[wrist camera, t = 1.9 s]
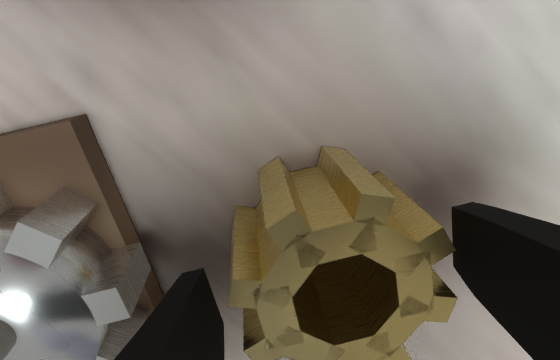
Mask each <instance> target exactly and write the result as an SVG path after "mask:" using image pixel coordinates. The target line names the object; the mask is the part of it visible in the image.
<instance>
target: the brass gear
mask: <svg viewBox="0 0 560 360" xmlns="http://www.w3.org/2000/svg"><path fill="white" fill-rule="evenodd" d="M258 173H259V180H260V188H261V196H262V199H261V201H260V202H259V204H258V205H257V207H256V208H249V207H240V206H235V213H234V219H233V226H232V243H231V262H230V280H229V298H228V307H237V308H243V334H244V352H245V353H246V354H247V355H248V356H249V357H250V358H251V359H252V360H278V359H279V358H281V357H283V356H284V357H287V358H289V359H292V360H411V358H410V356H409V354H408V352H407V350H406V349H405V347H404V345H403V343H404V342H405V341H406V340H407V338H408V337H409V336H410V335H411V334H412V333H413V332H414V331H415V330H416V328H417V327H418V326H419V325H420V324H421V323H422V322H423V321H433V322H447V321H448V319H449V317H450V314H451V312H452V310H453V307H454V305H455V303H456V300H457V297H456V296H455V294H454V293H453V292H452V291H451V290H450V289H449V288H448V286H447V285H446V284H445V283H444V282H443V281H442V279H441V278H440V277H439V276H438V275H437V274H436V273H435V271H434V270H433V269H432V267H431V265H433V264H434V263H436V262H438V261H439V260H441V259H443V258H444V257H446V256H448V255H449V254H451V253H452V252H454V251H456V249H455V248H454V246H453V244H452V242H451V241H450V239H449V237H448V236H447V234H446V232H445V230H444V229H443V227H442V226H441V225H440V224H439V223H437V222H436V221H435V220H434V219H433V218H432V217H431V216H430V215H428V214H427V213H426V212H425V211H424V210H423V209H422V208H421V207H419V206H418V205H417V204H416V203H415V202H414V201H413V200H412V199H410V198H409V197H408V196H407V195H406V194H405V193H404V192H403V191H401V190H400V189H399V188H398V187H397V186H396V185H395V184H394V183H392V182H391V181H390V180H389V179H388V178H387V177H386V176H385V175H383V174H382V173H381V172H380V171H379V172H377V173H376V174H374V175H373V176H372V175H371V174H370V173H369V172H368V171H367V170H366V169H365V168H364V167H363V166H362V165H361V164H360V163H359V162H358V161H357V160H356V159H355V158H354V157H353V156H352V155H351V154H350V153H349V152H348V151H346V150H345V149H339V148H333V147H326V146H322V149H321V153H320V157H319V162H318V166H314V167H310V168H306V169H302V170H297V171H293V172H289V171H288V169H287V168H286V167H285V165H284V164H283V163H282V161H281V160H280V159H279V157H277V158H275V159H274V160H272V161H271V162H270V163H268V164H267V165H265V166H264V167H262V168H261V169H260V170H258Z"/></svg>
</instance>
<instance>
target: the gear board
mask: <svg viewBox="0 0 560 360" xmlns="http://www.w3.org/2000/svg"><path fill="white" fill-rule="evenodd" d="M0 183H1V185H2V187H3V189H4V191H5V192H6V194H7V196H8V198H9V199H10V201H11V203H12V205H13V206H14V207H18V206H22V207H37V206H39V205H40V204H41V203H43V202H44V201H45V200H47V199H48V198H49V197H50V196H52V195H53V194H54V193H56V192H57V191H58V190H60V189H61V188H62V187H63V186H65V187H67V188H69V189H72V190H74V191H76V192H78V193H80V194H82V195H84V196H87V197H89V198H91V199H93V200H95V201H97V202H98V204H97V206H96V208H95V210H94V212H93V214H92V216H91V217H90V219H89V221H88V223H87V225H86V226H87V227H89V228H90V229H92V230H93V231H94V232H95V233H97V234H98V235H99V236H100V237H101V238H102V239H103V240H104V241H105V242H106V243H107V244H108V245H109V246H110V248H111V249H113V248H117V247H122V246H126V245H130V244H134V243H138V242H140V240H139V238H138V235H137V233H136V231H135V228H134V226H133V224H132V222H131V219H130V217H129V215H128V212H127V210H126V208H125V205H124V203H123V201H122V198H121V196H120V194H119V191H118V189H117V187H116V184H115V182H114V180H113V177H112V175H111V173H110V170H109V168H108V166H107V164H106V161H105V159H104V157H103V154H102V152H101V150H100V147H99V145H98V143H97V140H96V138H95V136H94V133H93V131H92V129H91V126H90V124H89V122H88V119H87V117H86V115H85V114H84V115H79V116H75V117H71V118H67V119H63V120H58V121H54V122H50V123H46V124H41V125H37V126H33V127H29V128H25V129H20V130H16V131H12V132H8V133H3V134H0ZM140 243H141V242H140ZM141 246H142V245H141ZM142 248H143V247H142ZM143 250H144V249H143ZM144 253H145V252H144ZM145 255H146V254H145ZM146 257H147V256H146ZM147 260H148V259H147ZM148 262H149V261H148ZM149 264H150V263H149ZM150 267H151V266H150ZM163 297H164V296H163V293H162V291H161V289H160V286H159V284H158V282H157V280H156V277H155V275H154V273H153V270H152V268H151V270H150V272H149V275H148V277H147V279H146V282H145V284H144V287H143V289H142V291H141V294H140V296H139V299H138V301H137V304H136V306H137V307H140V308H143V309H145V310H148V314H147V317H146V320H147V318H148V317H149V316H150V315H151V313H152V312H153V311H154V309H155V308H156V307H157V305H158V304H159V303H160V301H161V300H162V299H163ZM146 320H145V321H146ZM16 340H17V336H16V333H15V331H14V329H13V328H12V327H11V326H10V325H9V324H7V323H6V322H4V321H2V320H0V360H4V358H5V357H6V356H7V354H8V353H9V352H10V351H11V349H12V348H13V347H14V345H15V344H16Z"/></svg>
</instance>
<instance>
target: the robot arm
mask: <svg viewBox="0 0 560 360" xmlns="http://www.w3.org/2000/svg"><path fill="white" fill-rule="evenodd" d="M452 236H453V246H454V248H455V249H456V251H454V252H453V266H454V268H455V269H456V271H457V272H458V274H459V275H460V276H461V278H462V279H463V281H464V282H465V284H466V285H467V286H468V288H469V289H470V290H471V292H472V293H473V294H474V296H475V297H476V298H477V299H478V300H479V301H480V303H481V304H482V305H483V306H484V307H485V308H486V309H487V310H488V311H489V312H490V313H491V315H492V316H493V317H494V318H495V319H496V320H497V321H498V322H499V323H500V324H501V325H502V326H503V327H504V329H505V330H506V331H507V332H508V333H509V334H510V335H511V336H512V337H513V338H514V339H515V340H516V341H517V342H518V344H519V345H520V346H521V347H522V348H523V349H524V350H525V351H526V352H527V353H528V354H529V355H530V356H531V357H532V359H533V360H560V225H556V224H553V223H549V222H546V221H542V220H538V219H535V218H531V217H528V216H525V215H521V214H518V213H514V212H511V211H507V210H503V209H500V208H496V207H492V206H488V205H484V204H480V203H475V202H471V203H467V204H463V205H459V206H454V207H452ZM114 360H224V323H223V320H222V318H221V315H220V312H219V309H218V307H217V304H216V301H215V298H214V296H213V293H212V290H211V287H210V285H209V282H208V279H207V276H206V274H205V271H204V268H201V269H197V270H193V271H189V272H185V273H182V274H181V275H180V276H179V278H178V279H177V280H176V282H175V283H174V284H173V285H172V287H171V288H170V289H169V291H168V292H167V293H166V295H165V296H164V297H163V299H162V300H161V301H160V303H159V304H158V305H157V307H156V308H155V309H154V311H153V312H152V313H151V315H150V316H149V317H148V318H147V320H146V321H145V322H144V324H143V325H142V326H141V327H140V329H139V330H138V331H137V332H136V334H135V335H134V336H133V337H132V338H131V340H130V341H129V342H128V343H127V344H126V345H125V347H124V348H123V349H122V350H121V351H120V353H119V354H118V355H117V356H116V357H115V359H114Z"/></svg>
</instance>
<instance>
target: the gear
mask: <svg viewBox="0 0 560 360" xmlns="http://www.w3.org/2000/svg"><path fill="white" fill-rule="evenodd" d="M97 204H98V202H97V201H95V200H93V199H91V198H89V197H87V196H84V195H82V194H80V193H78V192H76V191H74V190H72V189H69V188H67V187H65V186H63V187H62V188H61V189H60V190H58V191H57V192H56V193H54V194H53V195H52V196H50V197H49V198H48V199H47V200H45V201H44V202H43V203H41V204H40V205H39V206H37V207H22V206H18V207H14V206H13V205H12V203H11V201H10V199H9V198H8V196H7V194H6V192H5V191H4V189H3V187H2V185H1V183H0V320H2V321H4V322H6V323H7V324H9V325H10V326H11V327H12V328H13V329H14V331H15V333H16V336H17V340H16V344H15V345H14V347H13V348H12V349H11V351H10V352H9V353H8V354H7V356H6V357H5V358H4V360H114V359H115V357H116V356H117V355H118V354H119V353H120V351H121V350H122V349H123V348H124V347H125V345H126V344H127V343H128V342H129V341H130V340H131V338H132V337H133V336H134V335H135V334H136V332H137V331H138V330H139V329H140V327H141V326H142V325H143V324H144V322H145V320H146V317H147V314H148V310H145V309H143V308H140V307H137V306H136V304H137V301H138V299H139V296H140V294H141V291H142V289H143V287H144V284H145V282H146V279H147V277H148V275H149V272H150V270H151V267H150V264H149V262H148V260H147V257H146V255H145V253H144V250H143V248H142V246H141V243H140V242H138V243H134V244H130V245H126V246H122V247H117V248H113V249H111V248H110V246H109V245H108V244H107V243H106V242H105V241H104V240H103V239H102V238H101V237H100V236H99V235H98V234H97V233H95V232H94V231H93V230H92V229H90V228H89V227H87V226H86V225H87V223H88V221H89V219H90V217H91V216H92V214H93V212H94V210H95V208H96V206H97Z"/></svg>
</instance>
